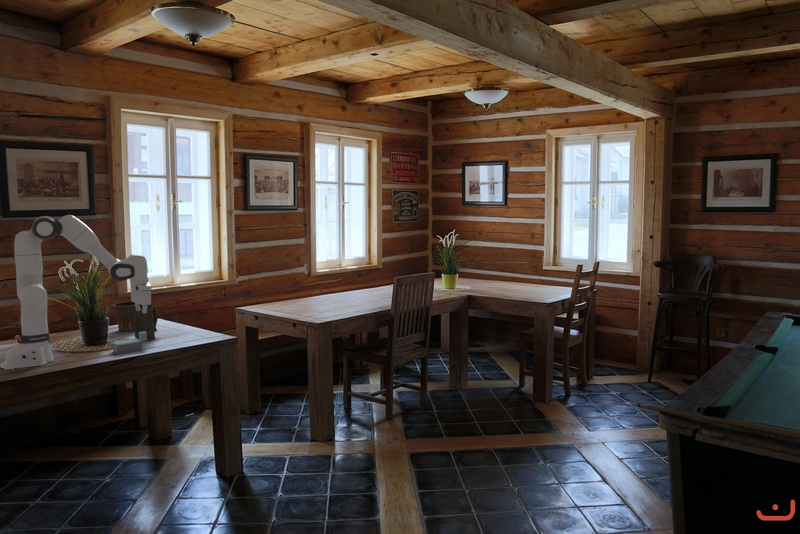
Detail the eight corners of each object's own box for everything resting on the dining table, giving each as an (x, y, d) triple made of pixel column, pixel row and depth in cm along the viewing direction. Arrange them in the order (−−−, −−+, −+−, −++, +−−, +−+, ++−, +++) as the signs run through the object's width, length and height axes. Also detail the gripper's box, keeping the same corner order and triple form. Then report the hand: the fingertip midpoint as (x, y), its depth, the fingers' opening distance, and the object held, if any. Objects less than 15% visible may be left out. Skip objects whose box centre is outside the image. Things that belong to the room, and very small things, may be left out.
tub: (118, 355, 314) (117, 345, 313) (113, 352, 320) (112, 343, 319) (142, 351, 322) (141, 341, 321) (137, 348, 328) (136, 339, 327)
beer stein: (147, 342, 340) (146, 306, 340) (129, 342, 343) (129, 306, 342) (163, 338, 355) (162, 303, 355) (146, 337, 358) (145, 303, 357)
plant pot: (119, 333, 365) (118, 306, 364) (110, 329, 377) (108, 303, 375) (147, 329, 376) (146, 303, 374) (138, 325, 388) (136, 300, 386)
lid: (117, 346, 313) (116, 337, 313) (112, 343, 319) (112, 335, 319) (148, 341, 323) (148, 333, 323) (143, 339, 329) (142, 330, 329)
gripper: (126, 284, 328) (128, 310, 330) (140, 288, 313) (141, 315, 314) (139, 283, 332) (140, 308, 334) (152, 286, 317) (154, 313, 318)
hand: (141, 311), depth 324 cm, fingers open, 8 cm apart
